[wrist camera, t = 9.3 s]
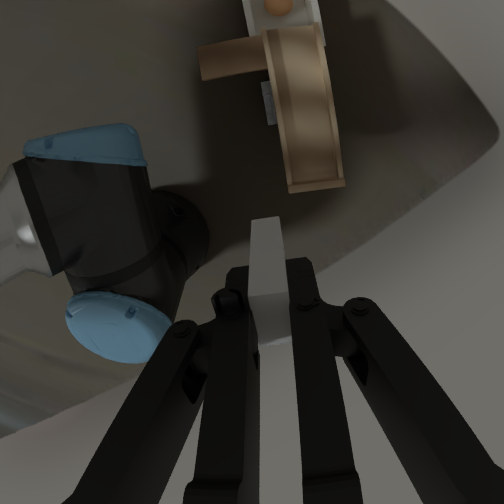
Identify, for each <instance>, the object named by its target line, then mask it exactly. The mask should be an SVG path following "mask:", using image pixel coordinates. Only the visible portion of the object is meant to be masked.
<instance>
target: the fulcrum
mask: <svg viewBox="0 0 504 504" xmlns="http://www.w3.org/2000/svg"><path fill="white" fill-rule="evenodd" d="M261 87H262V93H263V98H264V104H265V110H266V115H267V121H268V125H274V124H278V123H277V117H276V112H275V106H274V100H273V94H272V89H271V83H270V81H265V82H261Z"/></svg>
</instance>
